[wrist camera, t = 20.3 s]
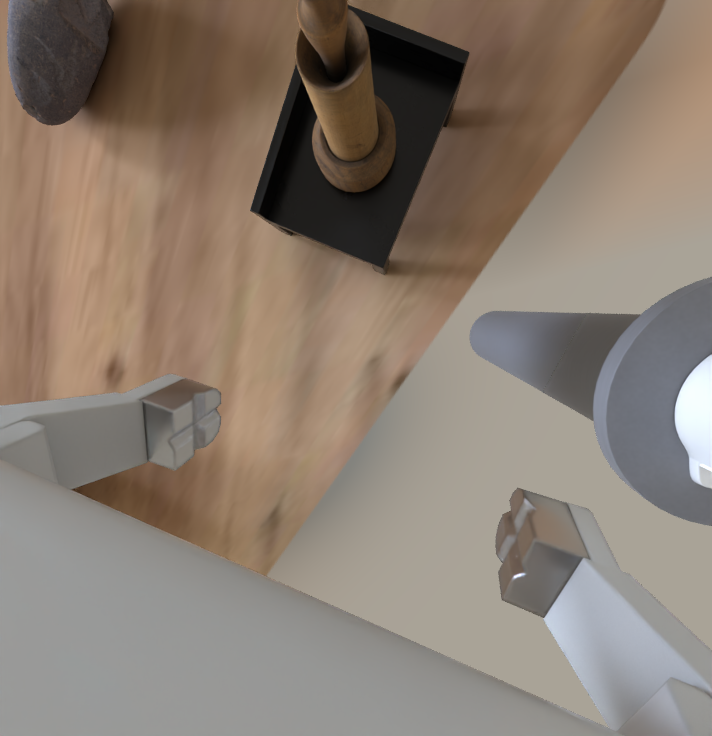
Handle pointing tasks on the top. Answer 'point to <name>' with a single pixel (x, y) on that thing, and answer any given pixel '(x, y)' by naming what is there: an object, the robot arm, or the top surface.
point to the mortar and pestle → (343, 96)
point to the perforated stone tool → (56, 54)
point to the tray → (413, 149)
